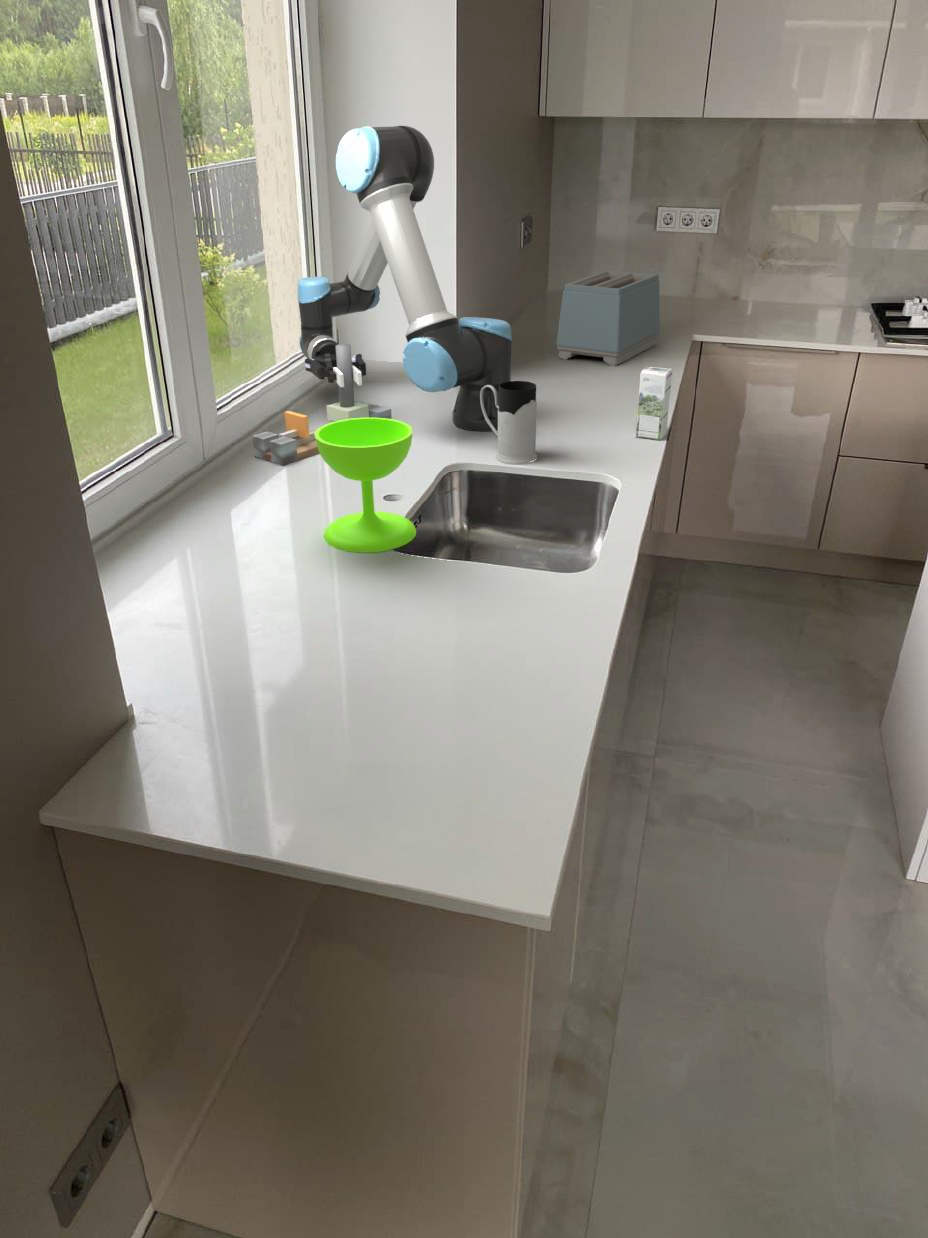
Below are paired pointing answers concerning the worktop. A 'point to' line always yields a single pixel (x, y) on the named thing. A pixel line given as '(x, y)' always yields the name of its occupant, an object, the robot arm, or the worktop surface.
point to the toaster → (609, 316)
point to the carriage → (346, 390)
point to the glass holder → (515, 421)
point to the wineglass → (366, 480)
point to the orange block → (295, 425)
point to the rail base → (298, 442)
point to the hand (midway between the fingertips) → (351, 379)
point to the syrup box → (653, 403)
